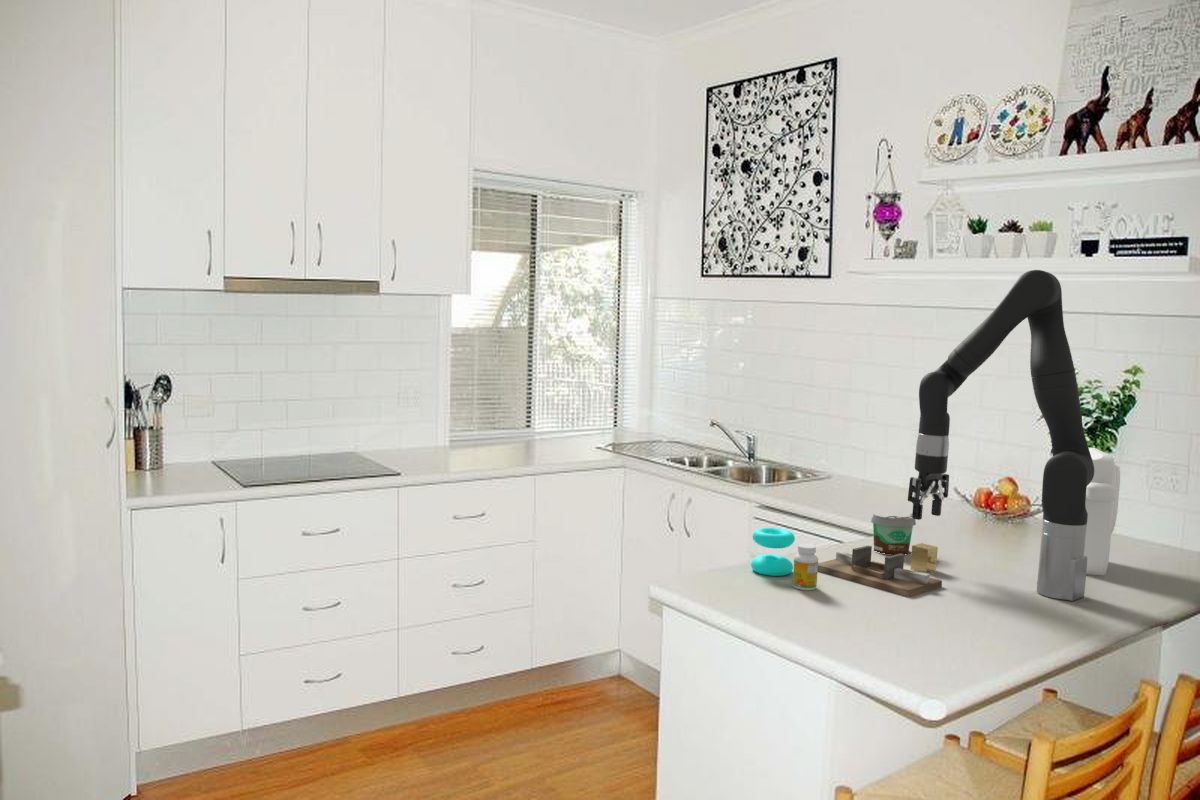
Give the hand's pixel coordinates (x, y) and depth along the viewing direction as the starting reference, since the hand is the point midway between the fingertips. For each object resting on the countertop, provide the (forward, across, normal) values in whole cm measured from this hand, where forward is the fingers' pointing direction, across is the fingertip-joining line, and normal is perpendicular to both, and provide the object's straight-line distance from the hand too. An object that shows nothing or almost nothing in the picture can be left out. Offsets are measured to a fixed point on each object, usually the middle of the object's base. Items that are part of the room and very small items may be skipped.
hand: (926, 517), depth 247 cm
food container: (+14, +8, +13) cm, 20 cm away
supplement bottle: (+14, -38, +7) cm, 41 cm away
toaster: (+13, +41, -22) cm, 49 cm away
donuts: (+14, -34, +20) cm, 42 cm away
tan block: (+13, 0, 0) cm, 13 cm away
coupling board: (+13, -17, +2) cm, 22 cm away
